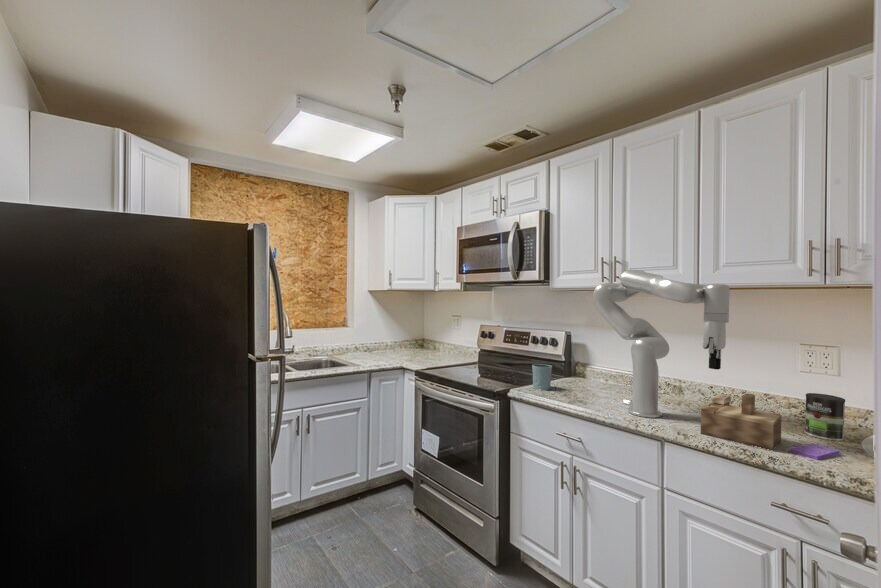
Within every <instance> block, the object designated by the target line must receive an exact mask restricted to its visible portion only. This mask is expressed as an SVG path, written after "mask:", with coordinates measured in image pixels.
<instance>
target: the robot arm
mask: <svg viewBox="0 0 881 588" xmlns="http://www.w3.org/2000/svg"><path fill="white" fill-rule="evenodd" d="M639 293H643V294H647V295H651V296H655V297H659V298H661V299H664V300H668V301H673V302H677V303H682V304H693V305H694V304H695V305H696V304H703V322H705V323H704V328H703V338H702V340H703V341H702V348H703V349H704V350H706V349H708V369H710V370H711V369H712V370H718V371H719V370H721V367H722V366H721V364H722V362H721V361H722V358H721V357H722V350H724V349H725V348H726V343H727V342H726V339H727V334H726V333H727V330H726V328H727V327H726V324H727V323H728V324H729V322H730V321H729V319H730V286H729V285H727V284H723V283H722V284H721V283H716V284H715V283H710V284H700V283H691V282H690V283H689V282H682V281H678V280H677V281H676V280H672V279H669V278H664V276H663V275H661V274H657V273H656V274H655V273H652V272H646V271H644V270H642V269H641V270H638V269H627V270H625V271H622V272H621V274H620V275H619V283H613V282H603V283H601V284H598V285H597V286H596V287H595V288H594V290H593V294H592V300H593V305H594V307H595V309H596V310H597V311H598V313H599V314H600V315H601V316H602V317H603V318H604V319H605V321H607V323H608V324H609V325H610V326H611V327H612V329H614V331H616V333H617V334H618V335H619V337H620V338H622V339H623V340H626V341H633V342H632V344H631V346H630V353H631V361H632V394H631V395H632V397H631V399H632V400H629V399H625V398H624V399H623V400H622V404H623V405H624V406H629V407H628V408H627V411H628V413H629V414H631V415H634V416H638V417H643V418H649V419H651V418H653V419H654V418H660V417H662V416H663V412H662V411H661V410H659V376H660V375H659V366H658V362H657V360H659V359H663V358H665V357H667V356H668V354H669V352H670V346H669V343H668V341H667V340H666V338H665V337H664V336H663V335H662V334H661V333H660V332H659V331H658V330H656V328H655V327H654V326H653V325H652V324H651V322H648V321H647V320H646V319H644V318H640V317H632V316H631V315H629V313H628V312H626V311H625V310H624V308H622V306H620V305H619V304H617V303H621V302H625V301H626V300H628V299H630V298H632V297H634V296H636V295H637V294H639Z"/></svg>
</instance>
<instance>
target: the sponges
mask: <svg viewBox="0 0 881 588" xmlns="http://www.w3.org/2000/svg"><path fill="white" fill-rule="evenodd" d="M789 451H790V452H791V453H792V454H796V455H799V456H803V457H806V458H809V459H813V460H816V461H820V460H823V459H827V458H832V457H837V456H840V455H841V453H840V452H841V451H840V450H839V449H836V448H833V447H827V446H822V445H820V444H817V443H814V442H813V443H808V444H804V445H799V446H794V447H790V448H789Z"/></svg>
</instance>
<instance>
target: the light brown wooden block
mask: <svg viewBox="0 0 881 588" xmlns="http://www.w3.org/2000/svg"><path fill="white" fill-rule="evenodd" d="M730 401H731V396H730V395H726V394H720V393H719V394H717V395H715V396H713V397H712V402H713V403H717V404H723V405H724V404H726V403H728V402H730Z"/></svg>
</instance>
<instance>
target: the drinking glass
mask: <svg viewBox="0 0 881 588" xmlns="http://www.w3.org/2000/svg"><path fill="white" fill-rule="evenodd" d="M531 368H532V369H531V370H532V387H534V388H536V389H541V390H540V391H549V389H550V390H551V381H552V371H553V365H550V364H544V363H534V364H532V365H531ZM534 388H533V389H534ZM536 389H535V390H536Z"/></svg>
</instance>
